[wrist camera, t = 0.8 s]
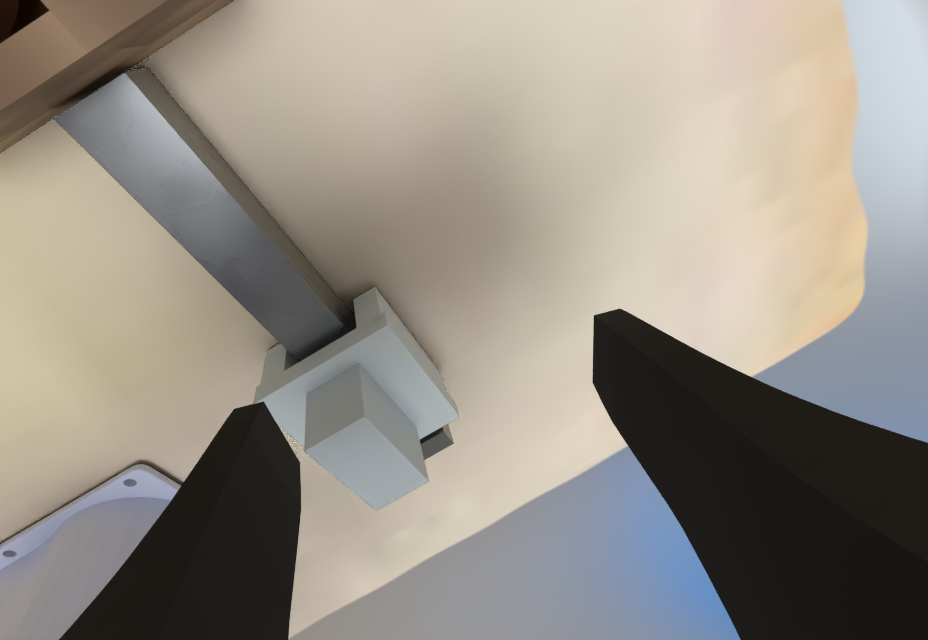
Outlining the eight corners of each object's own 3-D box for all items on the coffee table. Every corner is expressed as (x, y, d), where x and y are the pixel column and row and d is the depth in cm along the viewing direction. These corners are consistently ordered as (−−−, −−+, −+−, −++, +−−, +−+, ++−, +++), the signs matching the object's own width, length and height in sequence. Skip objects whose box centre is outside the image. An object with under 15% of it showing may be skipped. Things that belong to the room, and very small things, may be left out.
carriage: (343, 429, 24) (348, 541, 19) (262, 353, 20) (242, 465, 15) (444, 371, 24) (478, 469, 18) (379, 284, 20) (398, 374, 15)
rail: (373, 431, 25) (380, 484, 22) (62, 121, 15) (0, 145, 12) (438, 394, 24) (453, 443, 22) (168, 53, 14) (129, 60, 12)
